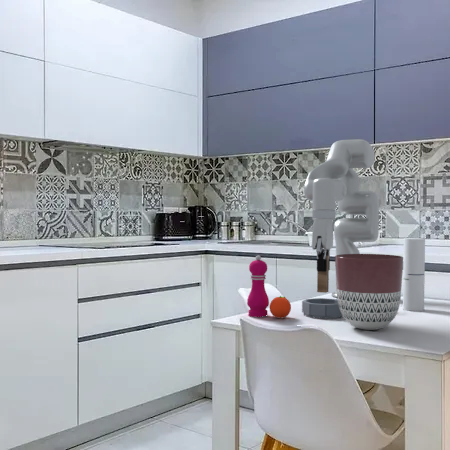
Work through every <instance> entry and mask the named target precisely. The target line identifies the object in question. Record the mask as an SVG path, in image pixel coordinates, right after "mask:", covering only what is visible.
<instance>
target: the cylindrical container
mask: <svg viewBox="0 0 450 450" xmlns="http://www.w3.org/2000/svg"><path fill="white" fill-rule="evenodd" d="M402 257H403V272H402V283H403V284H402V310H404V311H407V312H408V311H409V312H423V311H425V284H426V283H425V282H426V281H425V276H426V275H425V272H426V271H425V268H426V267H425V266H426V264H425V263H426V238H423V237H422V238H420V237H418V238H417V237H404V238H403V256H402Z"/></svg>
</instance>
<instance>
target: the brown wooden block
mask: <svg viewBox="0 0 450 450" xmlns="http://www.w3.org/2000/svg"><path fill="white" fill-rule="evenodd" d="M326 259H327V271H326V272H322V271H317V270H316V271H317V275H316V278H317V280H316V281H317V284H316V285H317V286H316V287H317V289H316V293H325V294H326V293H328V292H329V286H330V285H329V280H330V279H329V275H330V270H329V259H330V258H329V256H326Z"/></svg>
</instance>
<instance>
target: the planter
mask: <svg viewBox="0 0 450 450" xmlns="http://www.w3.org/2000/svg"><path fill="white" fill-rule="evenodd" d="M403 257H404V256H401V255H395V254H394V255H393V254H382V253H360V254H341V255H336V254H335V256H334V259H335V260H334V261H335V262H334V263H335V287H336V286H337V297H336V299H337V301H338V306H339V309H340V312H341V314H342V317H343V319H345V321H346V322H347V323H349V325H351V326H353V327H354V328H357V329H359V330H366V331H375V330H381V329H383V328H386V326H388V325H390V324H391V323H392V321H394V319H395V318H396V317H397V314H398V312H399V309H400V305H401V297H402V288H403V284H402V283H403Z"/></svg>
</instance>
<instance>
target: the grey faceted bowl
mask: <svg viewBox="0 0 450 450" xmlns="http://www.w3.org/2000/svg"><path fill="white" fill-rule="evenodd" d="M301 307H302V308H301V313H303V316H305V315H306V316H305V317H308V316H309V317H308V318H313V317H315V318H314V319H337V318H339V319H340V318H341V317H343V316H342V314H341V312H340V309H339V306H338V301H337V298H336V299H335V298H327V297H326V298H323V297H316V298H305V299H303V300H302V301H301Z"/></svg>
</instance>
